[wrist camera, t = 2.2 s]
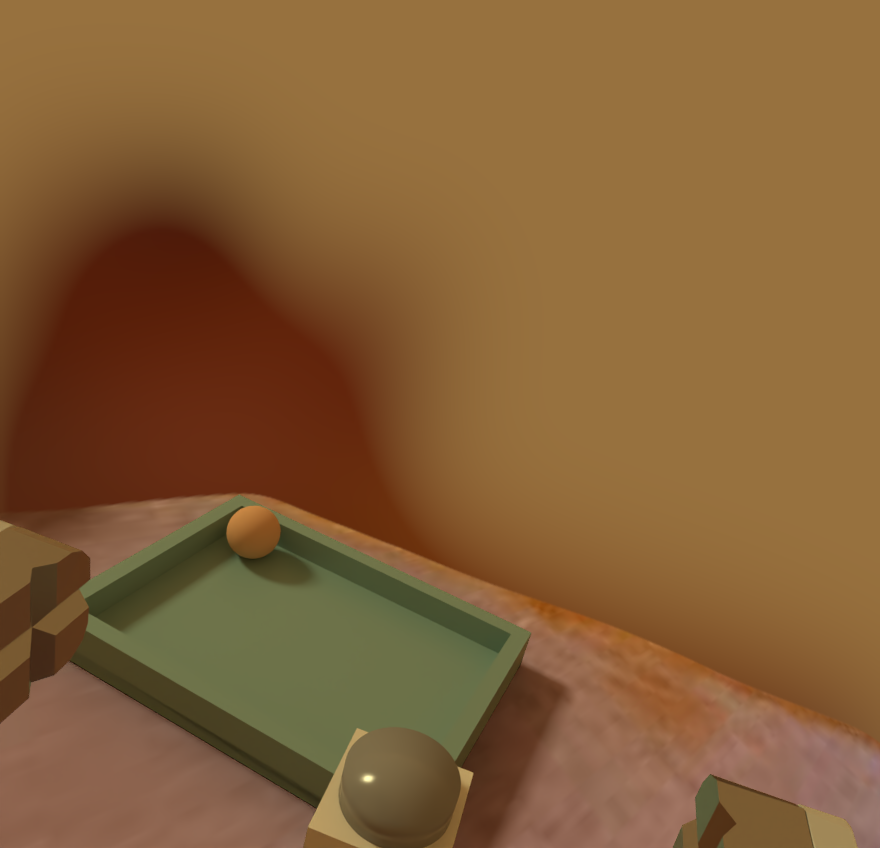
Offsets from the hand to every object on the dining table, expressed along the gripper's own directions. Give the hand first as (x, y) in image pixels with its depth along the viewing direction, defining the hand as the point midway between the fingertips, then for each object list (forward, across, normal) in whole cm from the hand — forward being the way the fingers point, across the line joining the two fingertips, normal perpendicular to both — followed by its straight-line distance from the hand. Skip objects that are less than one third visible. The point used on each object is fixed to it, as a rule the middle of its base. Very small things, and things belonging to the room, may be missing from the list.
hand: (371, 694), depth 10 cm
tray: (+27, +9, +24) cm, 37 cm away
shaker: (+12, +1, +24) cm, 27 cm away
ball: (+33, +16, +23) cm, 43 cm away
